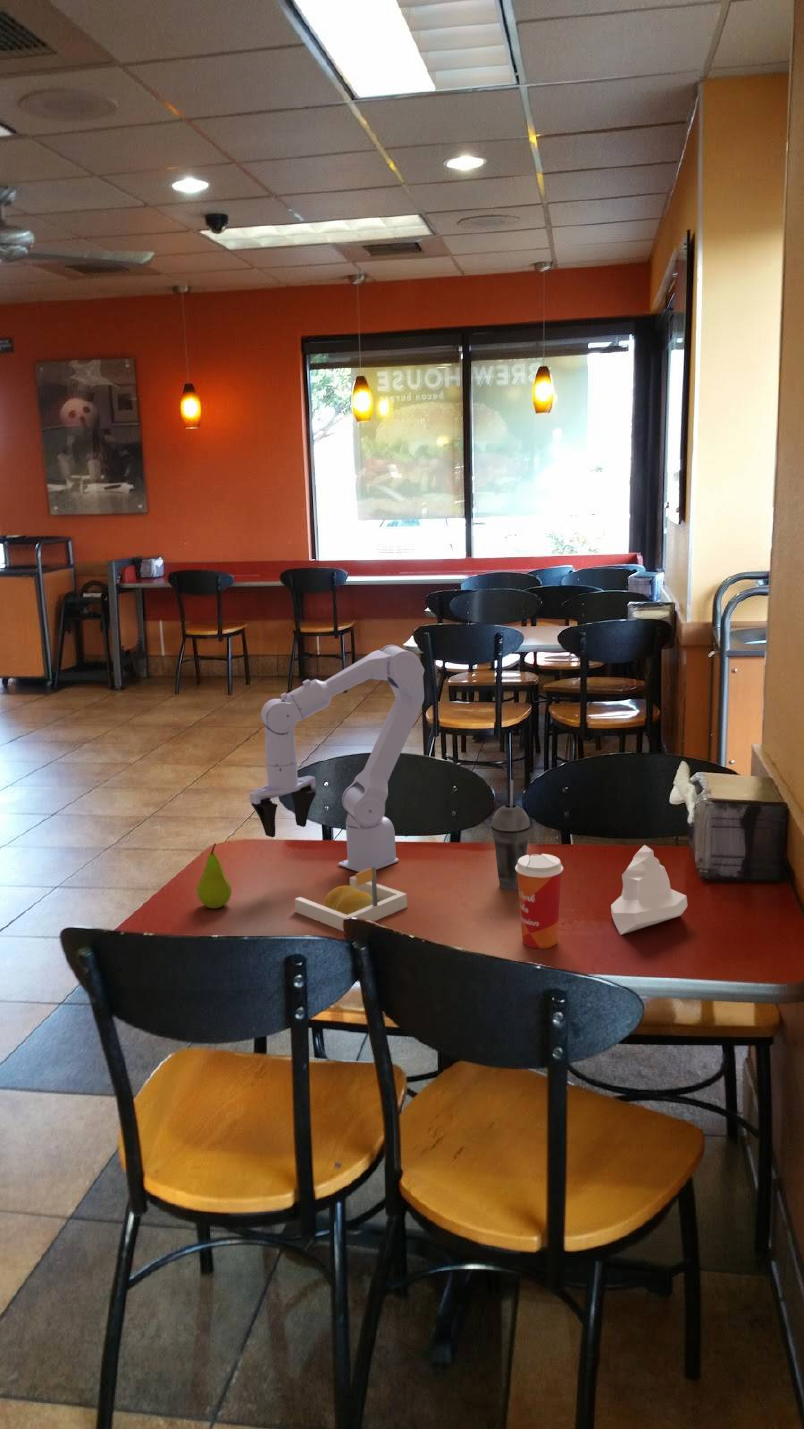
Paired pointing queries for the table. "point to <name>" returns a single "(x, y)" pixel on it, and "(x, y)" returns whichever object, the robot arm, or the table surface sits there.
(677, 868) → the table surface
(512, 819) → the beverage cup
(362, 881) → the pocket
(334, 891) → the bread roll
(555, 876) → the paper cup
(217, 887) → the fruit
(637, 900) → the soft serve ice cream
